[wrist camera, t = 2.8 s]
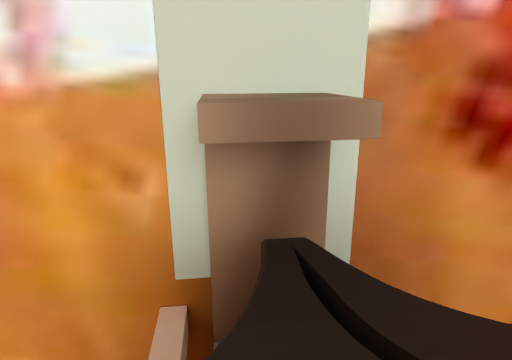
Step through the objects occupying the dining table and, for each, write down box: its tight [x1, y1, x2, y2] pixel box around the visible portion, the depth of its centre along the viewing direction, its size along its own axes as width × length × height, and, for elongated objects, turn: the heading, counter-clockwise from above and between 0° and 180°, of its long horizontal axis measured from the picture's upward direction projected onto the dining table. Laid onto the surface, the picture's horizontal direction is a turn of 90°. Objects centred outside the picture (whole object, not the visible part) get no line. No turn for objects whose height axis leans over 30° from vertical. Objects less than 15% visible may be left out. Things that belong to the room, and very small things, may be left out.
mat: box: [153, 0, 370, 280], centre depth 14 cm, size 8×12×1 cm, turn 0°
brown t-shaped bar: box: [197, 93, 383, 349], centre depth 14 cm, size 5×17×5 cm, turn 0°
